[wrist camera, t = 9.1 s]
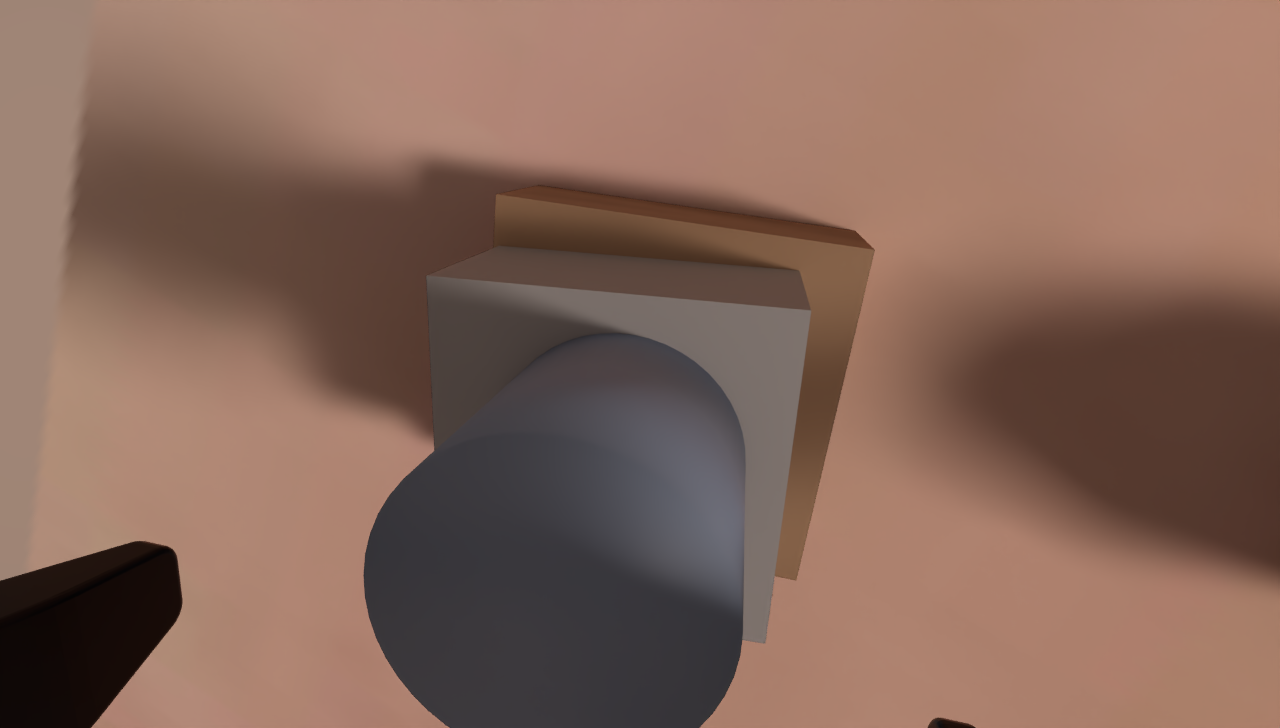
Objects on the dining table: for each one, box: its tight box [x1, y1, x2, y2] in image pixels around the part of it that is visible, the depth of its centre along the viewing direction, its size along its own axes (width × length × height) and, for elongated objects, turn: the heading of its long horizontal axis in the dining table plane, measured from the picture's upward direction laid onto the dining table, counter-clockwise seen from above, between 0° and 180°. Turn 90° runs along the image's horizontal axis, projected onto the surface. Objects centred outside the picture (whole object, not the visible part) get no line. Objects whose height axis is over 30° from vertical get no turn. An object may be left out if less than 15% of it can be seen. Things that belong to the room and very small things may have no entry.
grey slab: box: [426, 246, 811, 643], centre depth 14 cm, size 6×6×4 cm
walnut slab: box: [493, 185, 875, 580], centre depth 17 cm, size 8×8×4 cm
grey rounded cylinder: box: [364, 333, 746, 728], centre depth 10 cm, size 4×4×4 cm
